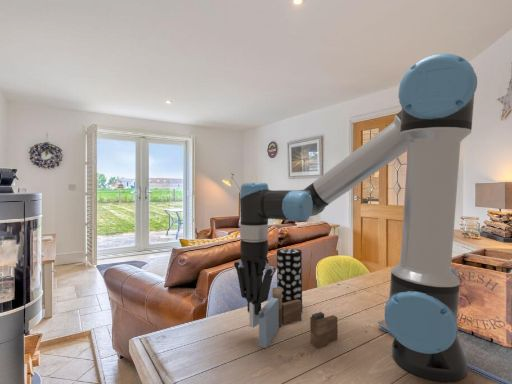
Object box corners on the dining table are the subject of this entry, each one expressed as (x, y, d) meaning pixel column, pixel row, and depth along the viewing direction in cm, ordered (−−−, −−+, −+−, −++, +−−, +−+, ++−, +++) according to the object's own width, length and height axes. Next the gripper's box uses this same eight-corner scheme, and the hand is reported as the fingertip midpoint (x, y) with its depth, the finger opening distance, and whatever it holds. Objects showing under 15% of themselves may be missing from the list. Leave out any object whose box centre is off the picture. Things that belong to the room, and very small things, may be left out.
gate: (272, 328, 88) (271, 297, 88) (278, 329, 87) (278, 298, 87) (257, 349, 76) (256, 314, 76) (264, 351, 76) (263, 315, 76)
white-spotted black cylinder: (301, 316, 96) (301, 254, 96) (275, 314, 97) (275, 253, 97) (302, 306, 104) (302, 248, 104) (279, 304, 106) (278, 248, 105)
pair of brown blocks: (339, 340, 81) (339, 299, 80) (309, 351, 75) (309, 308, 75) (298, 316, 95) (298, 282, 95) (271, 325, 90) (270, 288, 90)
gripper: (281, 240, 80) (281, 326, 81) (244, 235, 88) (245, 314, 89) (265, 244, 74) (265, 338, 75) (227, 238, 82) (227, 323, 83)
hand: (254, 325), depth 82 cm, fingers closed
